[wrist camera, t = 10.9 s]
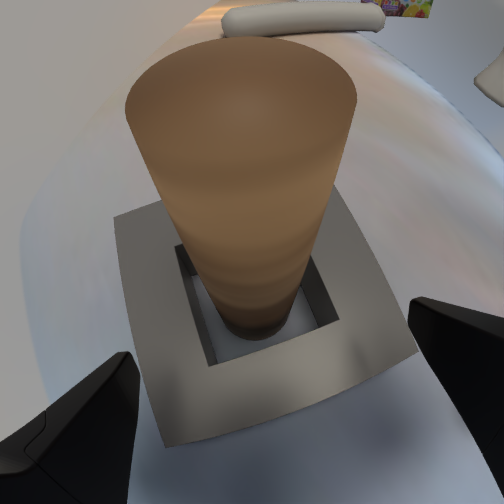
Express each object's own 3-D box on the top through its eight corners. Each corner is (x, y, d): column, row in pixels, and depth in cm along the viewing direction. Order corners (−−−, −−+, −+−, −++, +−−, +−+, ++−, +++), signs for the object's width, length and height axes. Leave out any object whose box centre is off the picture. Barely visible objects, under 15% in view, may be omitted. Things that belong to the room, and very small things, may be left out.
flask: (512, 104, 29) (535, 61, 20) (504, 113, 27) (531, 64, 18) (479, 76, 31) (498, 32, 22) (466, 82, 30) (488, 31, 21)
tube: (229, 23, 27) (390, 17, 30) (216, 3, 28) (371, -3, 31) (228, 52, 33) (377, 38, 36) (216, 30, 33) (360, 18, 36)
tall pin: (300, 325, 17) (403, 129, 4) (232, 349, 16) (132, 200, 3) (274, 264, 18) (294, 28, 6) (211, 285, 18) (123, 64, 5)
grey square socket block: (386, 361, 15) (418, 351, 12) (186, 435, 14) (165, 447, 10) (307, 195, 20) (315, 155, 17) (137, 249, 19) (113, 217, 15)
